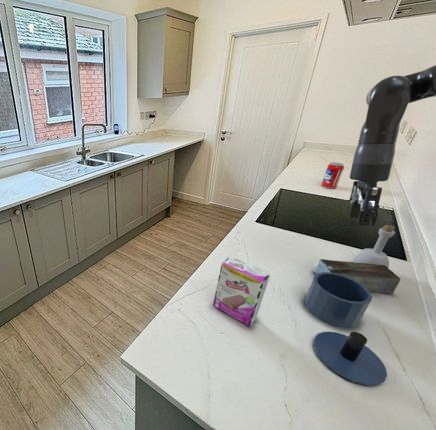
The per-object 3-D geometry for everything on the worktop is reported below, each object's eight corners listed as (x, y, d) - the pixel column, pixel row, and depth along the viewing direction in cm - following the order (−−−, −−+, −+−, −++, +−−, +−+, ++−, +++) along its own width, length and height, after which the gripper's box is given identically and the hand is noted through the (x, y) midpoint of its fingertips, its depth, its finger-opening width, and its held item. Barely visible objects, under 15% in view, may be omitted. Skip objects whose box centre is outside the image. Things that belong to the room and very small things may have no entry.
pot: (363, 311, 76) (376, 288, 72) (352, 336, 69) (366, 311, 65) (312, 289, 85) (321, 266, 81) (298, 308, 77) (307, 285, 73)
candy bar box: (211, 306, 79) (220, 262, 71) (219, 298, 82) (228, 255, 75) (249, 329, 71) (263, 282, 64) (257, 318, 74) (271, 273, 67)
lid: (389, 361, 62) (404, 339, 59) (378, 401, 55) (395, 379, 51) (321, 325, 72) (331, 305, 68) (304, 355, 64) (314, 334, 61)
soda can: (338, 189, 160) (347, 165, 153) (323, 188, 162) (331, 165, 155) (333, 185, 166) (342, 162, 160) (318, 184, 169) (326, 161, 162)
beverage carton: (313, 271, 92) (319, 256, 89) (377, 278, 88) (386, 263, 85) (324, 286, 85) (331, 270, 82) (394, 295, 81) (404, 279, 78)
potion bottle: (360, 275, 90) (383, 230, 82) (346, 260, 97) (366, 217, 89) (390, 279, 88) (417, 233, 80) (374, 263, 96) (397, 220, 87)
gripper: (403, 163, 61) (386, 230, 65) (381, 160, 72) (368, 216, 77) (361, 163, 64) (347, 226, 68) (346, 160, 76) (335, 214, 80)
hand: (358, 221), depth 72 cm, fingers open, 8 cm apart
